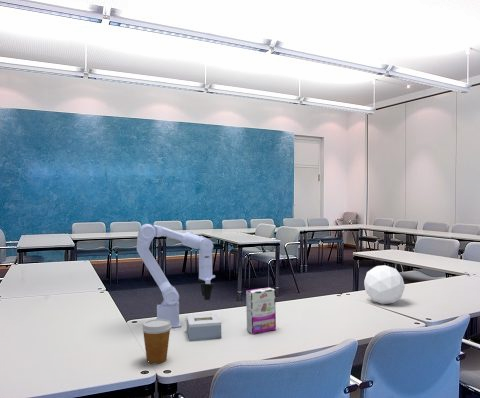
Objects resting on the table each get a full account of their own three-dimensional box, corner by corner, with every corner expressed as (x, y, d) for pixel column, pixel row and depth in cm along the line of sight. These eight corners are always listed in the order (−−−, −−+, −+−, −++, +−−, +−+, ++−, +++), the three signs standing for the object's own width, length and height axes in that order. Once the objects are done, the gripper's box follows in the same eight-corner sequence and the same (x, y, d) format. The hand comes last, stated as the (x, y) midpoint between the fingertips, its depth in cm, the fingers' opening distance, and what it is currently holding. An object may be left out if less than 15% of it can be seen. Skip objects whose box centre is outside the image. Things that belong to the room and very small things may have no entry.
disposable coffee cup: (144, 354, 129) (144, 319, 129) (172, 353, 130) (172, 318, 130) (139, 366, 120) (139, 327, 120) (170, 365, 121) (170, 326, 121)
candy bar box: (269, 326, 158) (269, 286, 159) (276, 330, 154) (276, 289, 154) (245, 331, 153) (245, 289, 153) (251, 334, 149) (251, 292, 149)
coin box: (189, 340, 142) (189, 324, 142) (186, 330, 154) (186, 315, 154) (221, 338, 145) (221, 322, 145) (216, 328, 157) (216, 313, 157)
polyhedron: (391, 314, 198) (415, 284, 198) (383, 309, 183) (409, 276, 182) (361, 291, 210) (384, 262, 210) (351, 284, 194) (375, 253, 194)
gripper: (217, 268, 160) (217, 301, 160) (212, 263, 174) (212, 293, 174) (200, 269, 158) (200, 302, 158) (196, 263, 172) (197, 294, 172)
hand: (206, 297), depth 166 cm, fingers open, 7 cm apart
